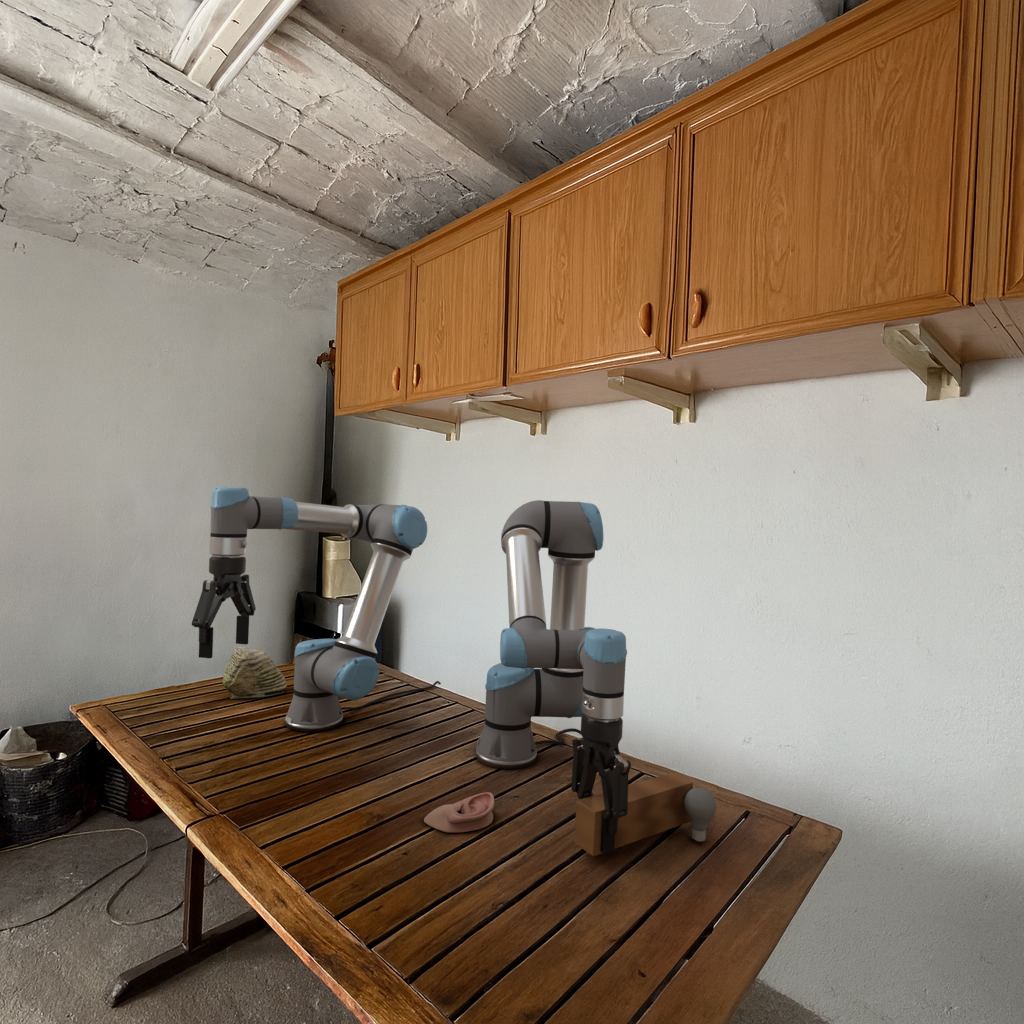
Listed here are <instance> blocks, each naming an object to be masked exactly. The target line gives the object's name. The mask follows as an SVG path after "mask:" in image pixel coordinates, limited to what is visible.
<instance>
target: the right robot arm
mask: <svg viewBox="0 0 1024 1024" xmlns="http://www.w3.org/2000/svg"><path fill="white" fill-rule="evenodd" d="M500 536H501V537H500V543H501V544H500V545H501V550H502V552H503V554H505V557H506V558H505V560H506V582H507V584H506V585H507V605H508V625H509V628H503V629H502V630H501V632H500V641H499V642H500V643H499V660H500V662H499V663H497V664H494V665H493V666H491V667H490V668H488V671H487V673H486V682H485V685H484V687H485V707H484V725H483V728H482V731H481V733H480V735H479V737H478V739H477V743H476V748H475V758H476V759H477V761H478V762H480V763H481V764H483V765H484V766H487V767H491V768H495V769H503V770H515V769H522V768H527V767H529V766H531V765H533V764H535V762H536V761H537V758H538V750H537V745H544V744H554V745H564V744H565V742H566V740H565V738H564V737H563V736H561V735H563V734H566V733H572V732H573V733H578V734H579V735H581V737H578V738H573V739H572V740H571V744H572V751H573V752H572V753H573V756H572V771H571V791H572V792H573V793H576V795H577V798H578V799H577V800H580V799H583V798H587V797H590V796H594V795H595V794H594V793H593V790H594V785H595V782H596V778H597V775H598V776H599V777H600V781H601V789H602V790H601V791H602V793H603V798H604V806H605V814H602V824H601V847H600V851H601V852H602V853H601V854H605V853H607V852H610V851H613V850H615V849H614V846H615V834H616V833H617V825H618V818H619V817H622V816H625V815H627V810H628V785H629V773H630V772H631V768H632V762H631V760H629V759H627V760H625V759H624V758H623V757H622V756H621V752H620V748H619V744H620V742H621V740H622V738H623V727H624V726H623V725H624V720H623V718H622V717H623V716H624V708H625V707H624V703H625V683H626V682H625V681H626V663H627V655H628V649H627V637H626V635H625V633H624V632H622V631H619V630H616V629H611V628H602V627H601V628H600V627H599V628H595V627H591V626H585V625H586V608H587V590H588V574H589V564H591V562H592V561H593V560H594V559H595V558H596V551H597V552H599V551H601V550H602V549H603V546H604V525H603V519H602V515H601V511H600V510H599V508H598V506H597V505H596V504H594V503H591V502H582V501H566V500H565V501H563V500H561V501H560V500H543V499H542V500H541V499H538V500H537V499H536V500H531V501H528V502H525V503H523V504H522V505H520V506H519V507H517V508H516V509H514V511H513V512H512V513H510V515H509V516H508V518H507V519H506V521H505V523H504V525H503V527H502V530H501V535H500ZM541 549H547V557H549V558H550V559H551V560H552V562H553V566H552V567H553V568H552V569H553V570H552V584H551V585H552V588H551V603H550V604H551V605H550V621H549V622H550V623H549V629H548V628H547V619H546V609H545V599H544V590H543V589H544V588H543V580H542V571H541V562H540V551H541ZM536 717H537V718H566V719H572V718H580V729H578V728H573V727H571V728H565V729H562V730H560V731H558V732H559V733H558V732H556V733H555V738H556V739H557V740H554V739H543V740H537V741H535V738H534V735H533V731H532V718H536ZM612 808H613V809H612Z"/></svg>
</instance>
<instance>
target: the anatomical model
mask: <svg viewBox="0 0 1024 1024" xmlns="http://www.w3.org/2000/svg"><path fill="white" fill-rule="evenodd" d="M494 808H495V797H494V794H493V793H492V792H490V791H486V792H481V793H477V794H474V795H471V796H468V797H466V798H463V799H462V800H459V801H456V802H455V803H449V804H448V803H447V804H444V805H441V806H439V807H436V808H435V809H433V810H432V811H430V812H429V813H428V814H426V815H425V817H424V818H423V822H424V823H425V824H426V825H428V826H429V827H431V828H433V829H435V830H438V831H441V832H444V833H450V834H453V833H454V834H455V833H464V832H472V831H477V830H480V829H483V828H485V827H487V826H489V825H491V824H492V822H493V820H494V813H493V810H494Z"/></svg>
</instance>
